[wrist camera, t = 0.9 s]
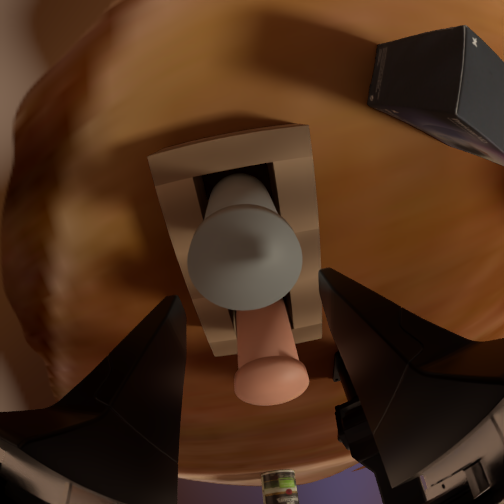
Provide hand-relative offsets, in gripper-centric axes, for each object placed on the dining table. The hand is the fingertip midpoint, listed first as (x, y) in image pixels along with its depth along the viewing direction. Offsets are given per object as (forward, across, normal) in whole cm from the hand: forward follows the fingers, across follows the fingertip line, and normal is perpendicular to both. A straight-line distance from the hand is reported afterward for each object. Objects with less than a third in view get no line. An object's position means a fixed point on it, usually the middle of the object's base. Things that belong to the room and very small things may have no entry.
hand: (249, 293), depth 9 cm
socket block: (+13, 0, +4) cm, 14 cm away
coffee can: (+13, +5, +82) cm, 83 cm away
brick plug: (+10, 0, +9) cm, 13 cm away
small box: (+13, -17, -6) cm, 22 cm away
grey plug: (+10, 0, 0) cm, 10 cm away
